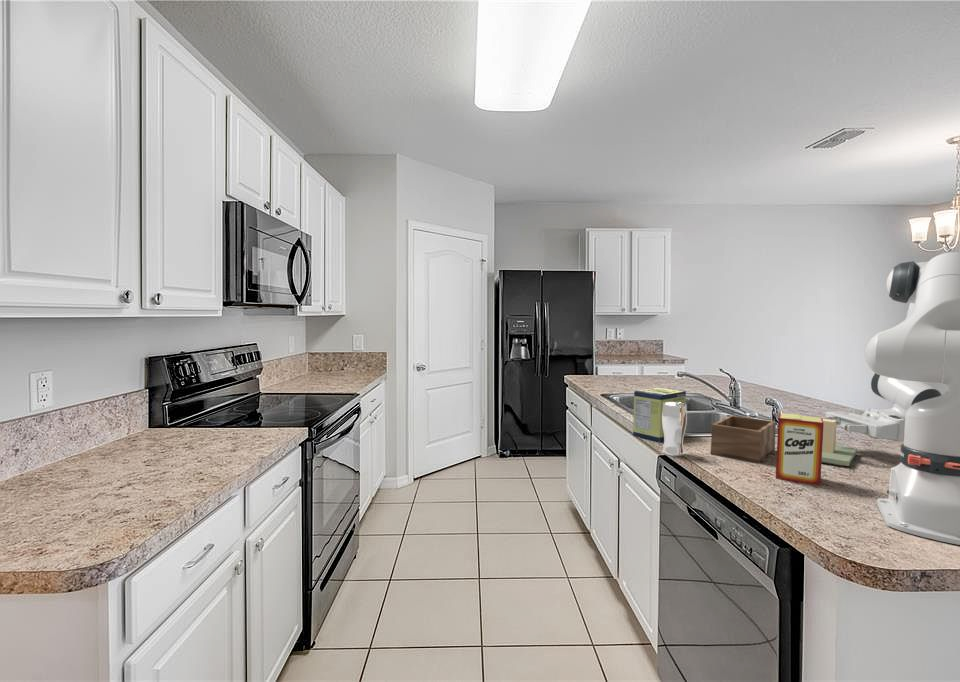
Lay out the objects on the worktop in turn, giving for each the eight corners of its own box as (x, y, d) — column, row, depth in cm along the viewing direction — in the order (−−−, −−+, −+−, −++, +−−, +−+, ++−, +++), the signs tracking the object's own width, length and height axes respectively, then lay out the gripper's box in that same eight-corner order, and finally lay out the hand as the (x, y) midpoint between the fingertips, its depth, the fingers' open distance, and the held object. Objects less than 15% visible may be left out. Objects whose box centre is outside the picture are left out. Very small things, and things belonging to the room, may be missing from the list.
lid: (848, 469, 137) (850, 429, 136) (793, 459, 146) (795, 421, 145) (856, 455, 150) (858, 418, 150) (805, 447, 159) (807, 412, 158)
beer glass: (670, 457, 146) (672, 406, 145) (655, 451, 153) (657, 402, 152) (690, 455, 148) (692, 405, 147) (675, 449, 155) (677, 401, 154)
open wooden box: (759, 463, 141) (760, 431, 140) (710, 454, 150) (711, 424, 149) (774, 450, 154) (776, 421, 154) (729, 442, 163) (730, 415, 162)
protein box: (685, 435, 172) (686, 390, 171) (659, 442, 163) (661, 395, 162) (657, 429, 181) (659, 386, 180) (632, 436, 171) (633, 390, 170)
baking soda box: (819, 478, 129) (822, 416, 128) (820, 485, 124) (823, 421, 123) (776, 471, 134) (779, 412, 133) (775, 478, 129) (778, 416, 128)
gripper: (850, 406, 159) (809, 406, 158) (910, 420, 138) (862, 421, 138) (849, 425, 159) (808, 426, 158) (908, 443, 139) (861, 443, 138)
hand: (833, 424), depth 148 cm, fingers open, 8 cm apart
